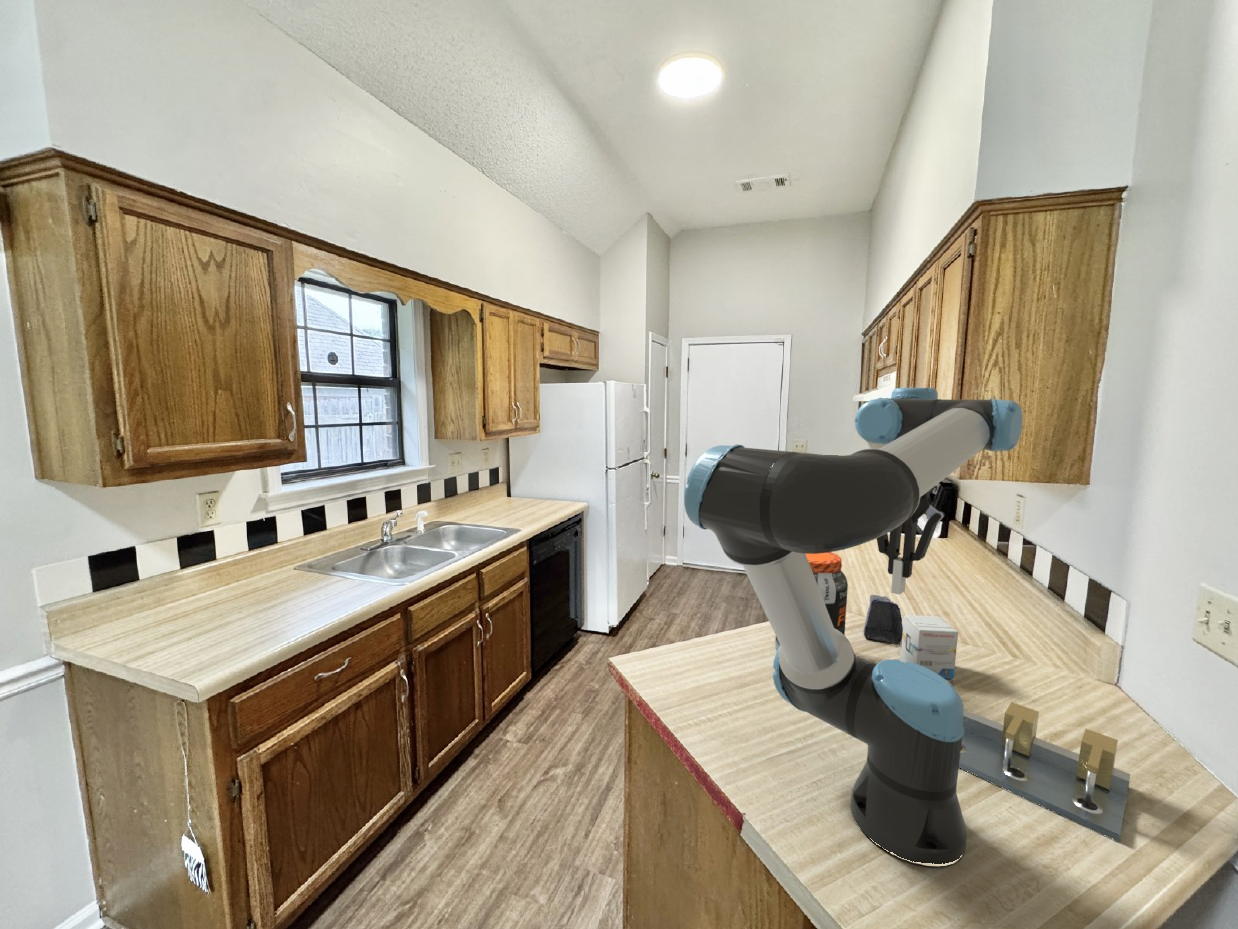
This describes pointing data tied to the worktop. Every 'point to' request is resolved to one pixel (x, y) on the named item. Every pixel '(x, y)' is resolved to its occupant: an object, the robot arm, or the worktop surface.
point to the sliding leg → (1018, 730)
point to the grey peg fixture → (1052, 774)
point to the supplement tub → (830, 587)
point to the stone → (883, 620)
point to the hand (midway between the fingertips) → (898, 591)
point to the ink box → (930, 644)
